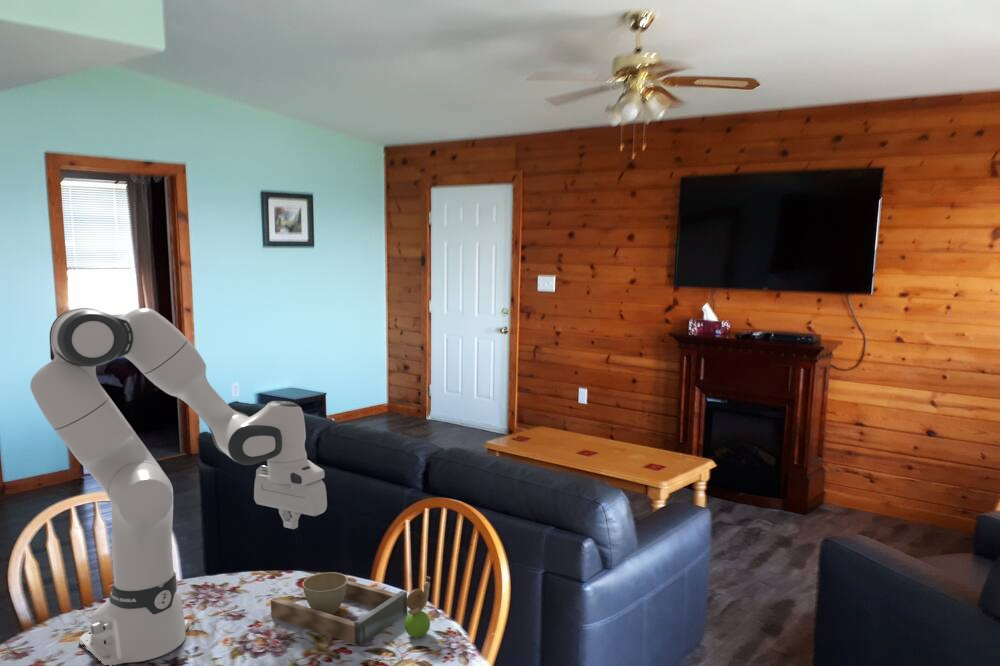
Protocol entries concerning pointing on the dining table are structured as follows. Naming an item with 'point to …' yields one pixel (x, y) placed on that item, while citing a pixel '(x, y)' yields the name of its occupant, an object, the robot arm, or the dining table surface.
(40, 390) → the robot arm
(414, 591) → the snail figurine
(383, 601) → the walled lane
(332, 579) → the flower pot
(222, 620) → the dining table surface
